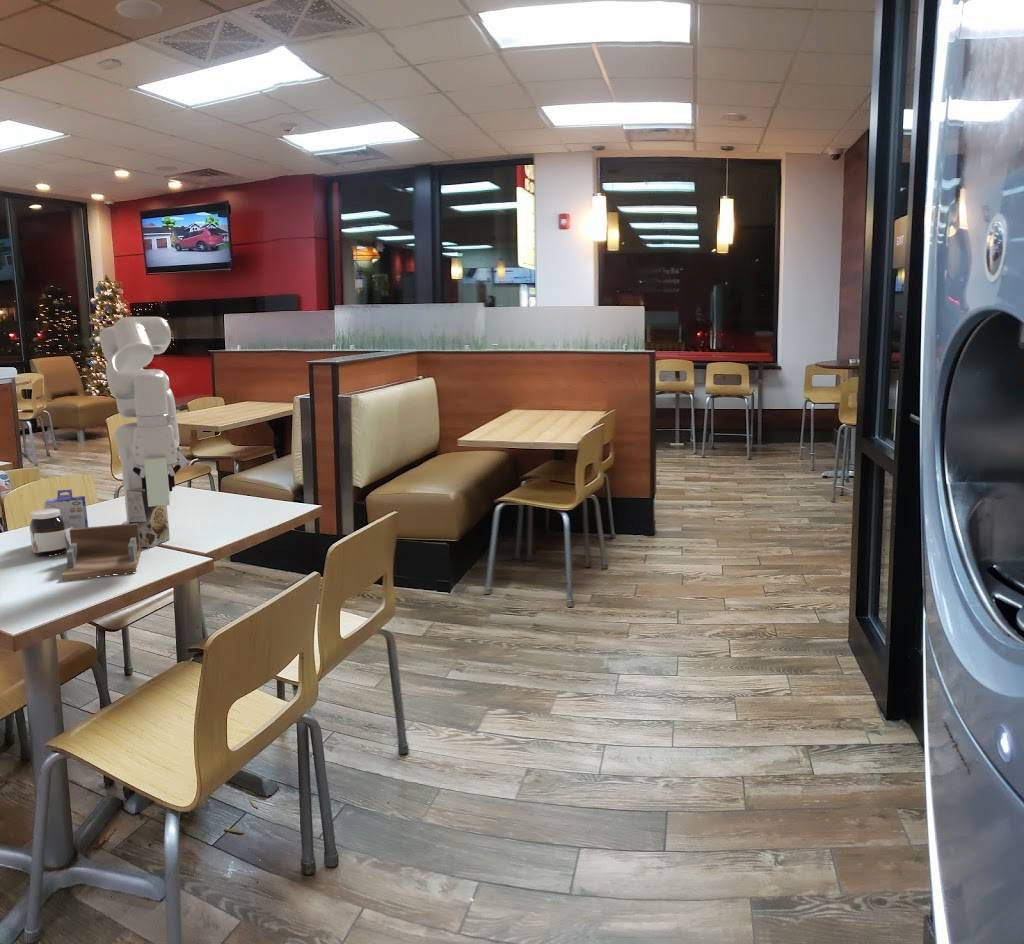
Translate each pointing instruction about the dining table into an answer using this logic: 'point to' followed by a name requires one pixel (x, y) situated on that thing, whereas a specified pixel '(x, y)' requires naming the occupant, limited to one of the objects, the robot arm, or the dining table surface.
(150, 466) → the pale green box
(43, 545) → the spread jar
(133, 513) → the coffee box
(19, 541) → the dining table surface
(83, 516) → the ink cartridge box
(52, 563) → the dining table surface
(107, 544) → the shelf
